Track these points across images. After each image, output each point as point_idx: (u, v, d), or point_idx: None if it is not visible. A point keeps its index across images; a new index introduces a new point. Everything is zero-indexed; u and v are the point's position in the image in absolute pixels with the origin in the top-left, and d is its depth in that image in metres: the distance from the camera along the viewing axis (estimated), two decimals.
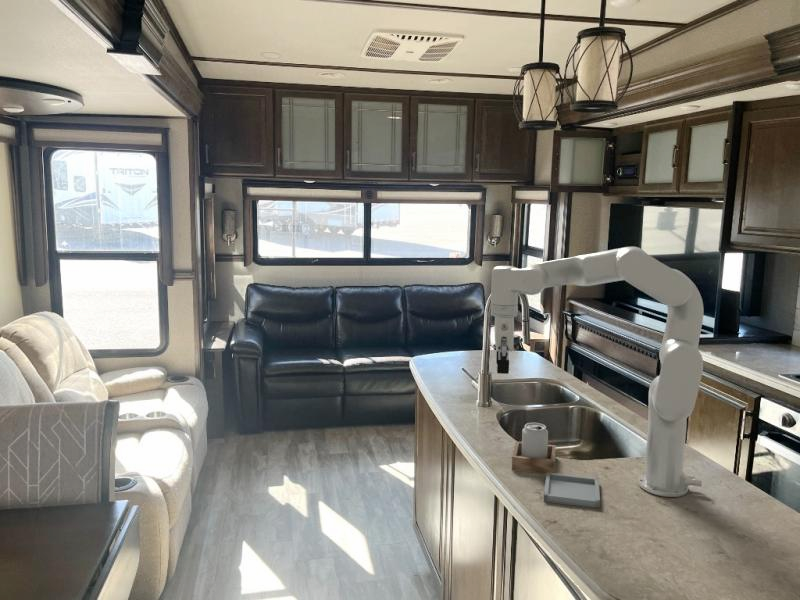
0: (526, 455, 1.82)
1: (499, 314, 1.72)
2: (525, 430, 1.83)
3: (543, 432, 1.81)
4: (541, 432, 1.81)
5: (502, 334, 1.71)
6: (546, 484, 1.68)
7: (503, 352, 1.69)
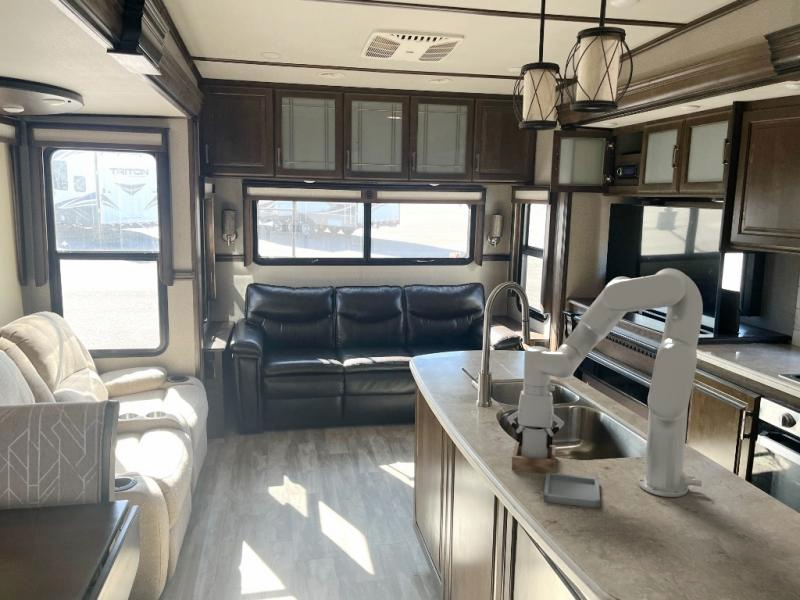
0: (526, 455, 1.82)
1: (548, 393, 1.79)
2: (525, 430, 1.83)
3: (543, 432, 1.81)
4: (541, 432, 1.81)
5: None
6: (546, 484, 1.68)
7: None
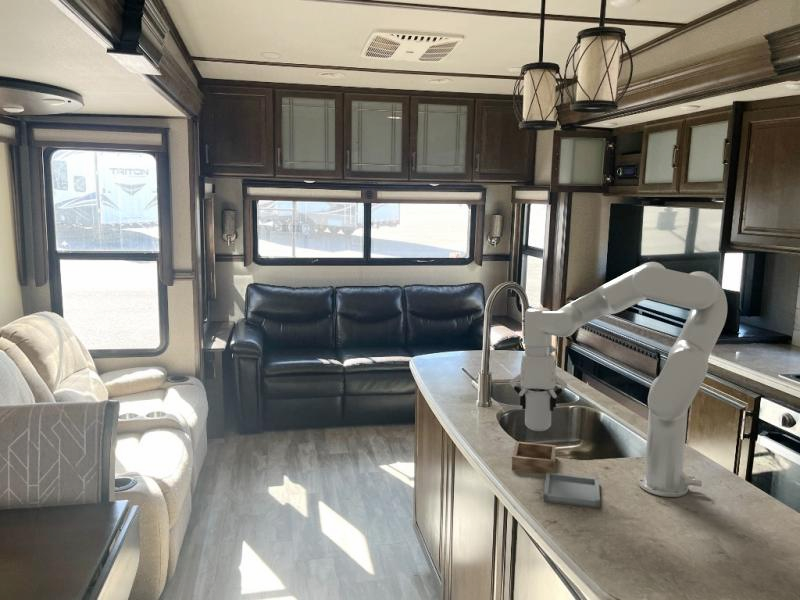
0: (529, 418, 1.80)
1: (550, 354, 1.77)
2: (528, 393, 1.81)
3: (546, 394, 1.79)
4: (544, 394, 1.79)
5: None
6: (546, 484, 1.68)
7: (564, 388, 1.79)
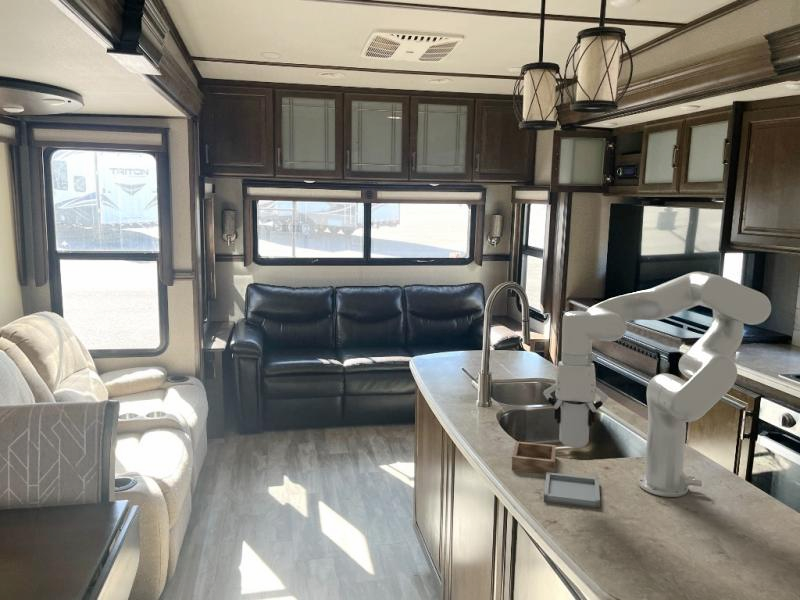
0: (565, 433, 1.62)
1: (590, 363, 1.59)
2: (564, 405, 1.63)
3: (584, 407, 1.61)
4: (582, 407, 1.61)
5: (595, 383, 1.61)
6: (546, 484, 1.68)
7: None
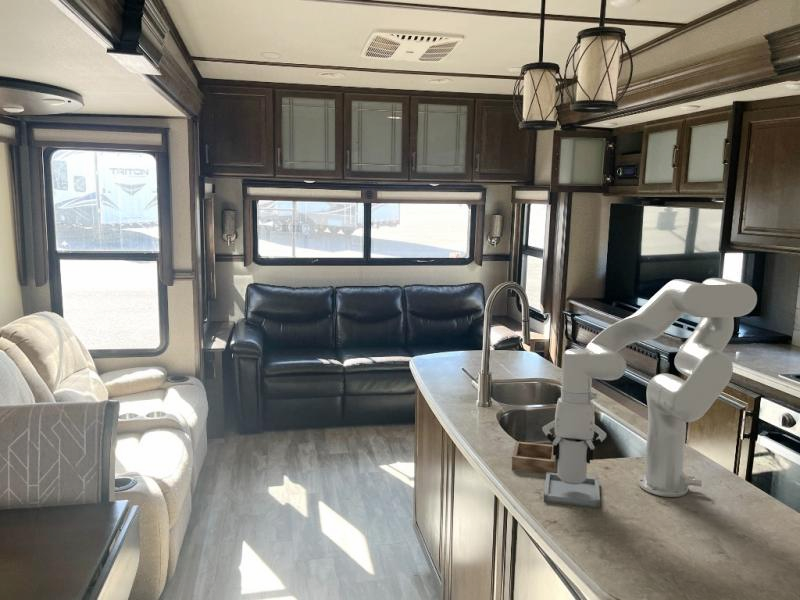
0: (563, 470, 1.64)
1: (589, 401, 1.61)
2: (562, 442, 1.64)
3: (583, 444, 1.62)
4: (581, 444, 1.62)
5: None
6: (546, 484, 1.68)
7: None
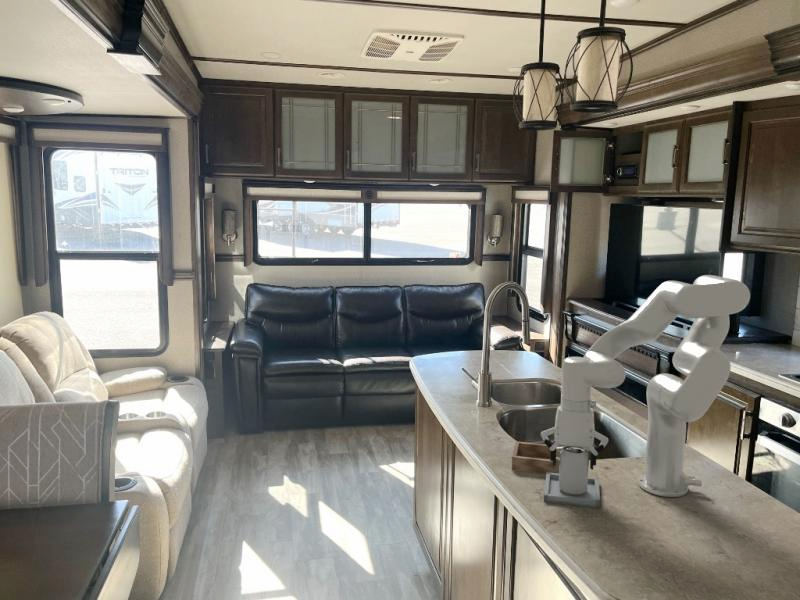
0: (565, 481, 1.64)
1: (589, 409, 1.61)
2: (563, 453, 1.64)
3: (584, 456, 1.63)
4: (582, 456, 1.62)
5: None
6: (546, 484, 1.68)
7: None
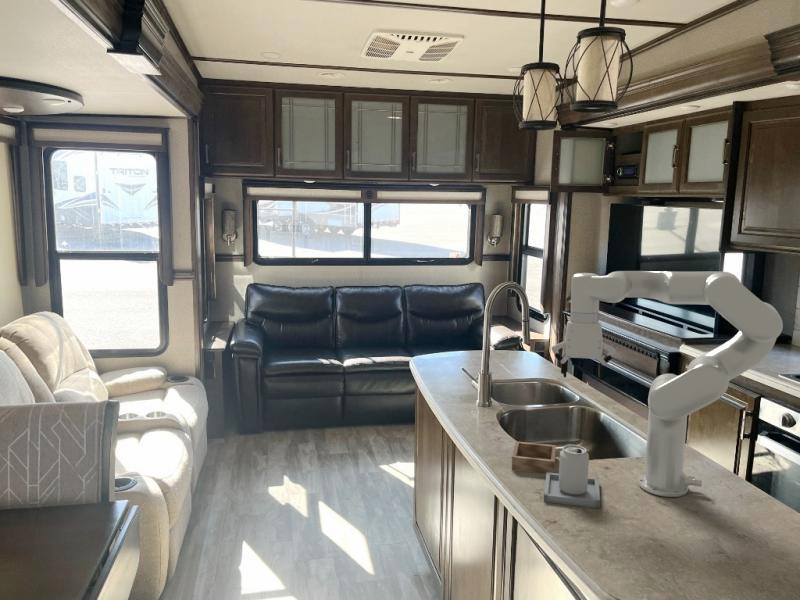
0: (565, 481, 1.64)
1: (597, 321, 1.70)
2: (563, 453, 1.64)
3: (584, 456, 1.63)
4: (582, 456, 1.62)
5: None
6: (546, 484, 1.68)
7: None
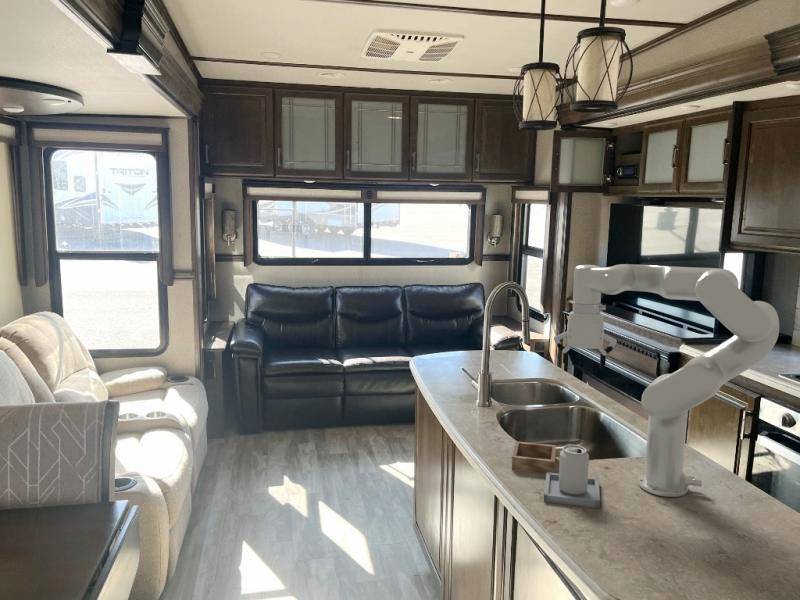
0: (565, 481, 1.64)
1: (599, 312, 1.74)
2: (563, 453, 1.64)
3: (584, 456, 1.63)
4: (582, 456, 1.62)
5: (603, 330, 1.75)
6: (546, 484, 1.68)
7: (614, 345, 1.75)
